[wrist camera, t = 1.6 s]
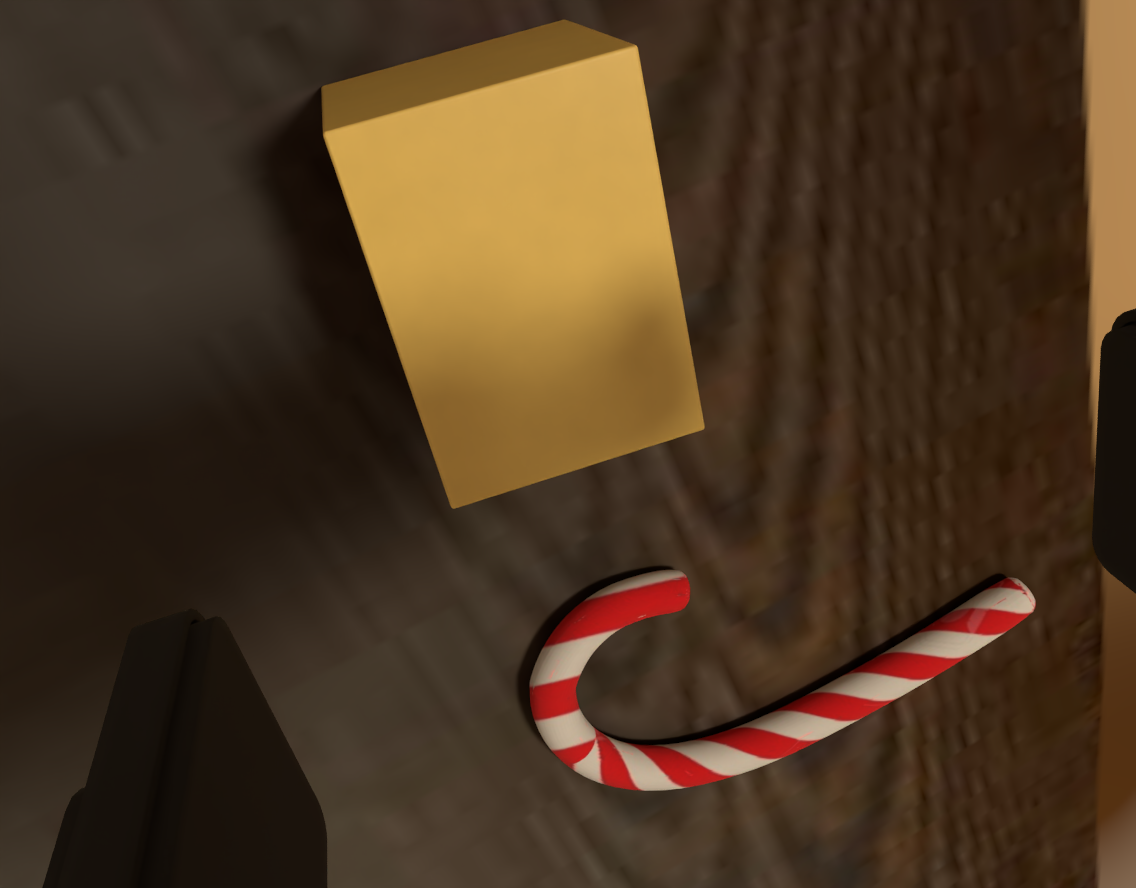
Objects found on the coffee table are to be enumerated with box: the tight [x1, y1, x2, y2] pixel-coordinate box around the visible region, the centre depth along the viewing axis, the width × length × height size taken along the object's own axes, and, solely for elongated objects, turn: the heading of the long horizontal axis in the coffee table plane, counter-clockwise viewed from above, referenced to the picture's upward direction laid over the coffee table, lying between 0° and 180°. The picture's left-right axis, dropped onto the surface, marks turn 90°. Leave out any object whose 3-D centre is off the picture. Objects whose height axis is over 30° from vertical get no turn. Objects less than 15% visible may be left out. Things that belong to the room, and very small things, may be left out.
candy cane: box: [530, 570, 1036, 791], centre depth 28 cm, size 8×1×15 cm
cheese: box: [321, 20, 704, 509], centre depth 19 cm, size 7×5×5 cm
